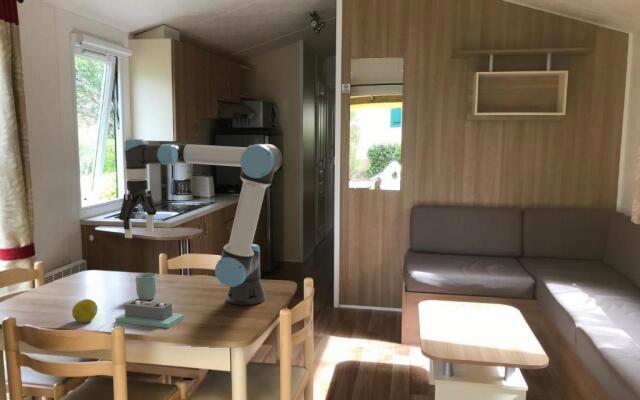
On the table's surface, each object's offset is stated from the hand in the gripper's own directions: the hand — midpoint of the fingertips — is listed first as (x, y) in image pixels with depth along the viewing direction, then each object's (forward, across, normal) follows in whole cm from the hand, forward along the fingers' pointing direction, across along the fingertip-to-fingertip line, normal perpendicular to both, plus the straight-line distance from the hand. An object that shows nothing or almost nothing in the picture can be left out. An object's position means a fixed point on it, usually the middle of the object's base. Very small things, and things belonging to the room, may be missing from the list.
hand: (139, 234), depth 201 cm
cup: (+29, -8, -4) cm, 30 cm away
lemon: (+29, +20, -10) cm, 37 cm away
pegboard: (+29, +13, +12) cm, 34 cm away
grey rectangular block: (+27, +13, +12) cm, 32 cm away
